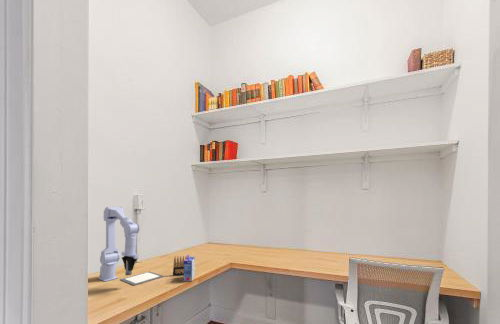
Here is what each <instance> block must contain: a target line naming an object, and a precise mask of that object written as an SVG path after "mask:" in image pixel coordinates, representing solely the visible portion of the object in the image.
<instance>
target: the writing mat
mask: <svg viewBox="0 0 500 324" xmlns="http://www.w3.org/2000/svg"><path fill="white" fill-rule="evenodd" d="M163 277H164V275H162V274H158V273H156V272H153V271H145V272H142V273H139V274H134V275H132V276H131V275H130V276H129V277H128V276H127V277H123V278H120V279H119V280H120V281H121V282H123V283H125V284H128V285H131V286H138V285H141V284H143V283H148V282H150V281H154V280H158V279H161V278H163Z"/></svg>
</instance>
